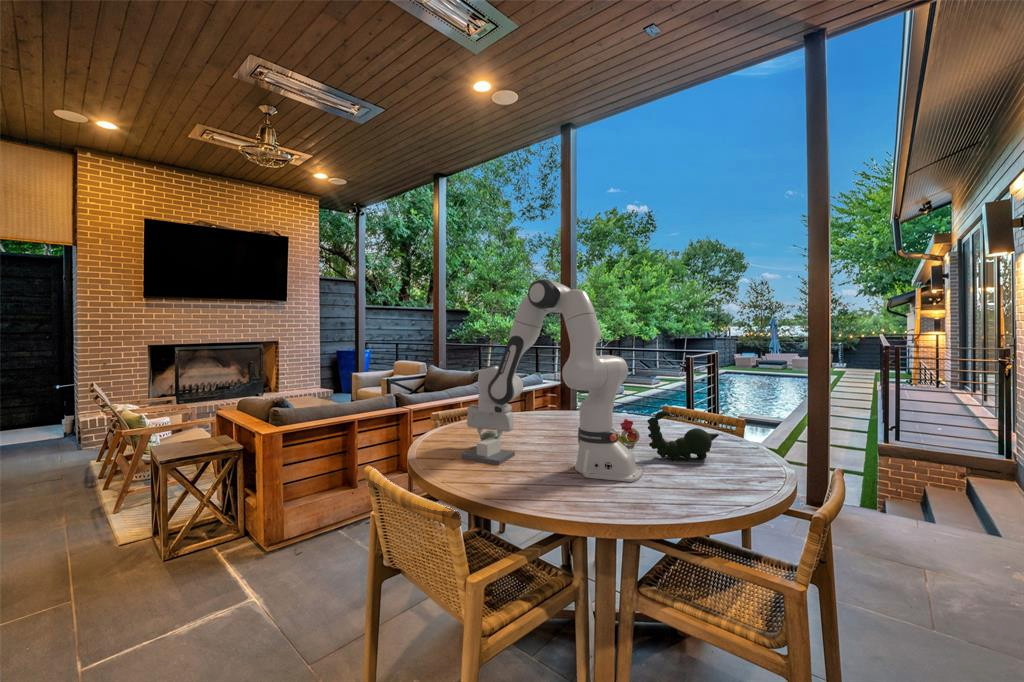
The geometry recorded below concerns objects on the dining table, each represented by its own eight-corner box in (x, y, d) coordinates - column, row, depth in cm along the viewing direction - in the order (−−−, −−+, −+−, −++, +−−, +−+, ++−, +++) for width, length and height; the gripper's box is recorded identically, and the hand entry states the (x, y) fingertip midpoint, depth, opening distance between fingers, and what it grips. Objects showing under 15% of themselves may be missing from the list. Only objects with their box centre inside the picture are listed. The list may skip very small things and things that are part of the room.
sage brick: (498, 441, 182) (498, 430, 182) (493, 447, 174) (493, 435, 174) (487, 441, 183) (487, 430, 183) (481, 446, 176) (480, 435, 175)
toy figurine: (655, 467, 158) (726, 461, 158) (651, 415, 157) (722, 408, 157) (648, 459, 168) (714, 453, 167) (643, 409, 167) (710, 403, 166)
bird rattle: (630, 448, 183) (610, 440, 182) (641, 423, 182) (621, 415, 182) (635, 453, 176) (615, 445, 176) (646, 427, 176) (626, 419, 175)
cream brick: (500, 451, 169) (500, 439, 169) (487, 456, 162) (487, 444, 162) (489, 449, 172) (489, 437, 171) (476, 454, 165) (476, 442, 165)
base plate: (514, 455, 168) (514, 451, 168) (499, 464, 158) (499, 460, 158) (479, 449, 176) (479, 446, 176) (461, 458, 165) (461, 454, 165)
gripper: (463, 405, 180) (464, 439, 181) (507, 409, 171) (508, 444, 171) (471, 402, 186) (472, 435, 186) (515, 406, 176) (515, 440, 177)
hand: (490, 440), depth 179 cm, fingers closed on sage brick, 6 cm apart
